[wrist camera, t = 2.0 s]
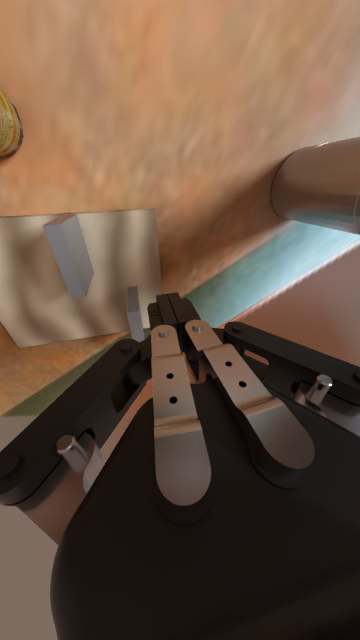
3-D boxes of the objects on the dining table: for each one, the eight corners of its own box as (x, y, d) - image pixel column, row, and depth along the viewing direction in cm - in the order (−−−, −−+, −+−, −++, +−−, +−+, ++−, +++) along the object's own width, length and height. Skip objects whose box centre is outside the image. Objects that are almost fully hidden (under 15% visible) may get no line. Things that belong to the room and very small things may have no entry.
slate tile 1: (76, 213, 25) (60, 224, 19) (94, 272, 30) (85, 297, 23) (61, 214, 25) (39, 225, 18) (81, 274, 29) (69, 299, 23)
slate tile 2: (136, 286, 33) (139, 311, 26) (143, 324, 37) (147, 353, 31) (125, 287, 32) (125, 313, 26) (133, 325, 37) (135, 355, 30)
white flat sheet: (153, 208, 28) (155, 209, 27) (164, 320, 40) (165, 324, 38) (-59, 220, 24) (-69, 222, 22) (22, 342, 35) (19, 348, 34)
